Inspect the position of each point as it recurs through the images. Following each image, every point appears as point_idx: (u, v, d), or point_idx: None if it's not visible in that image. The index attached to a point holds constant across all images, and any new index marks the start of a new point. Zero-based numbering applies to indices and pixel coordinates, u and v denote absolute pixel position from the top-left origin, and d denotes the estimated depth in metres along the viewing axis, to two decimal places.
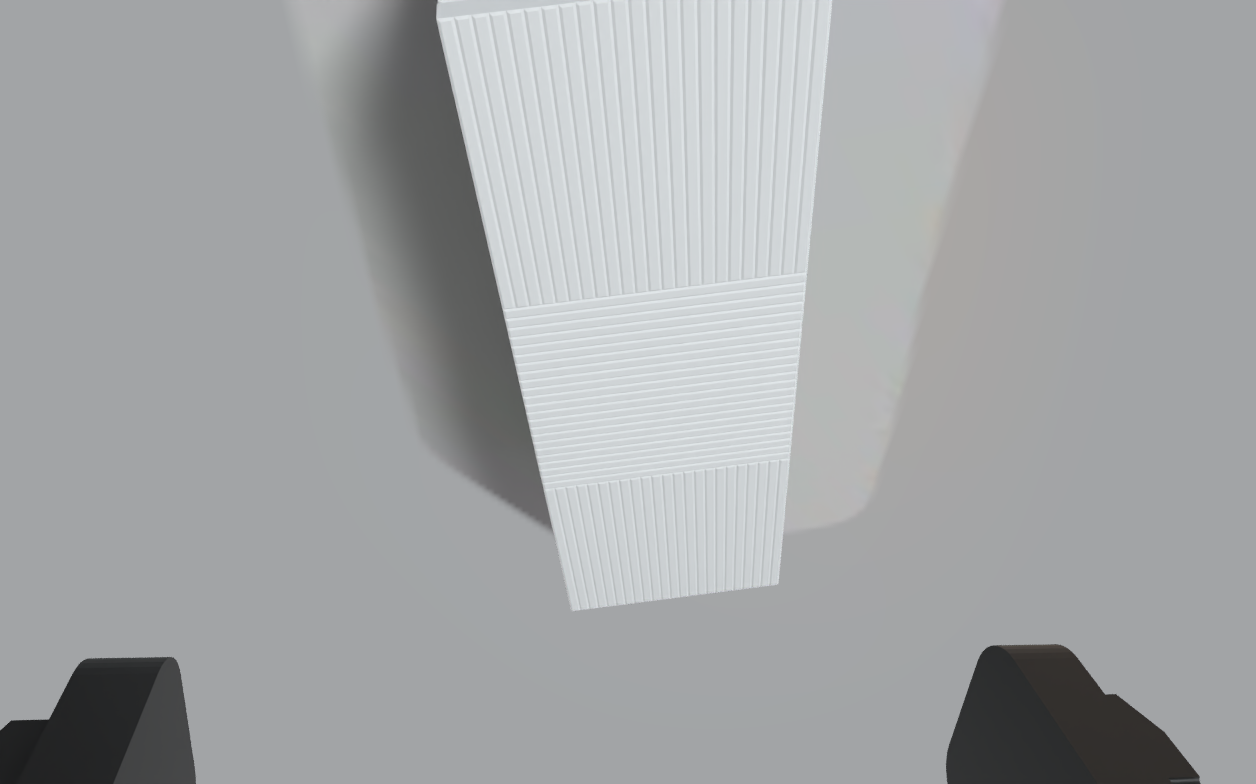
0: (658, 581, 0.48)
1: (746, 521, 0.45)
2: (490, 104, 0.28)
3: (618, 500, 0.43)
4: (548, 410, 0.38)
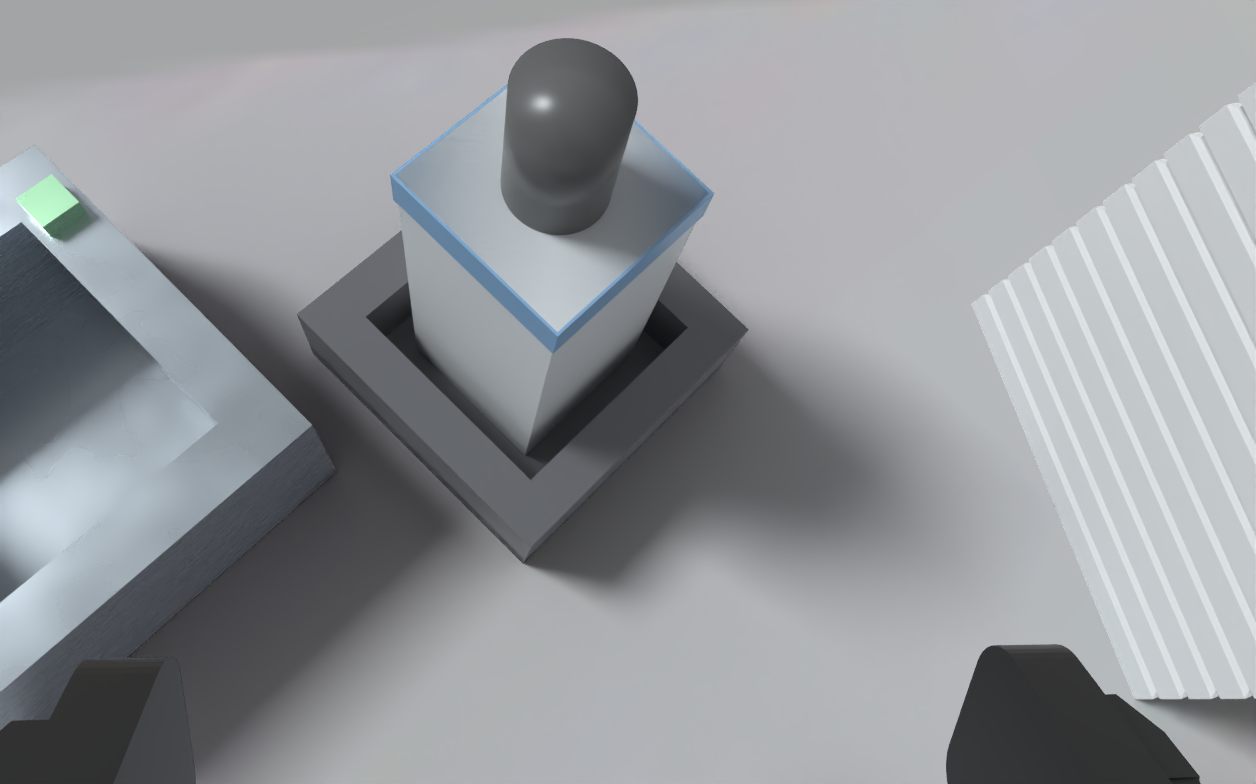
0: None
1: None
2: None
3: None
4: None
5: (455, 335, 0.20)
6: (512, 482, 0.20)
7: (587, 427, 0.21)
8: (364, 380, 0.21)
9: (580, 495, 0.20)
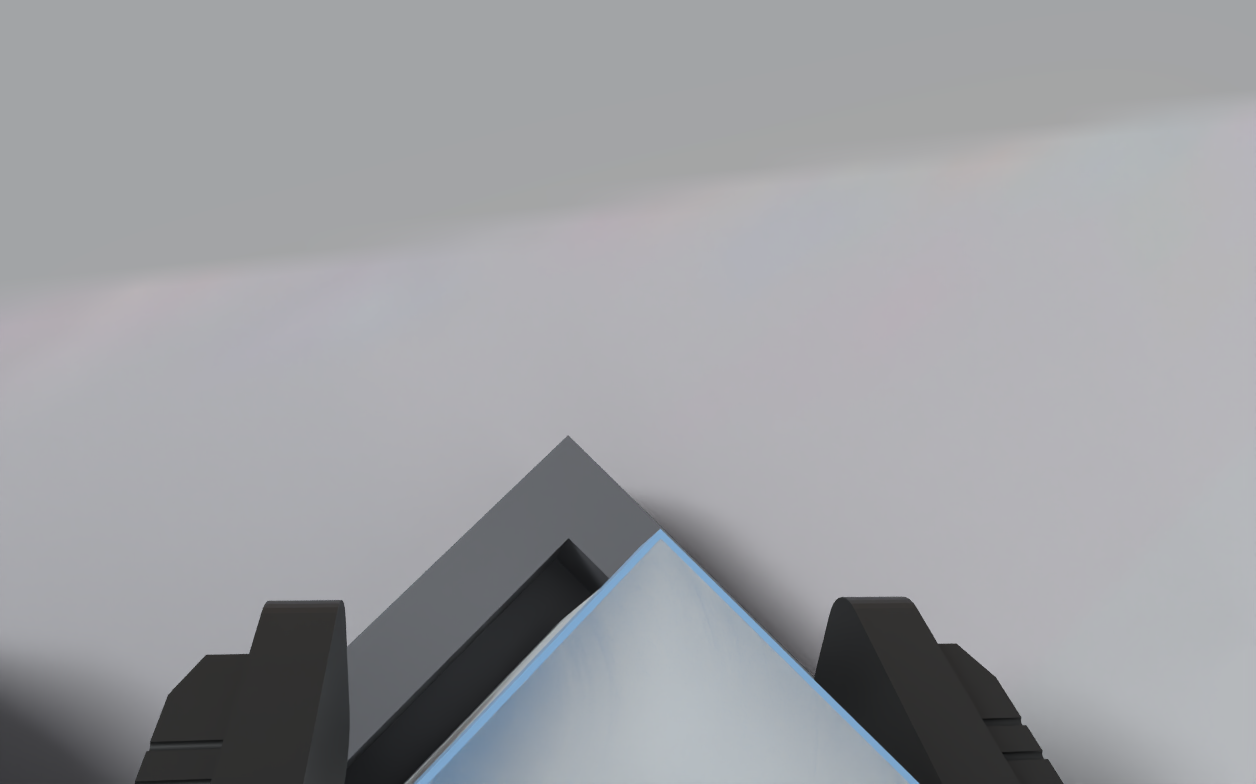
0: None
1: None
2: None
3: None
4: None
5: None
6: None
7: None
8: None
9: None
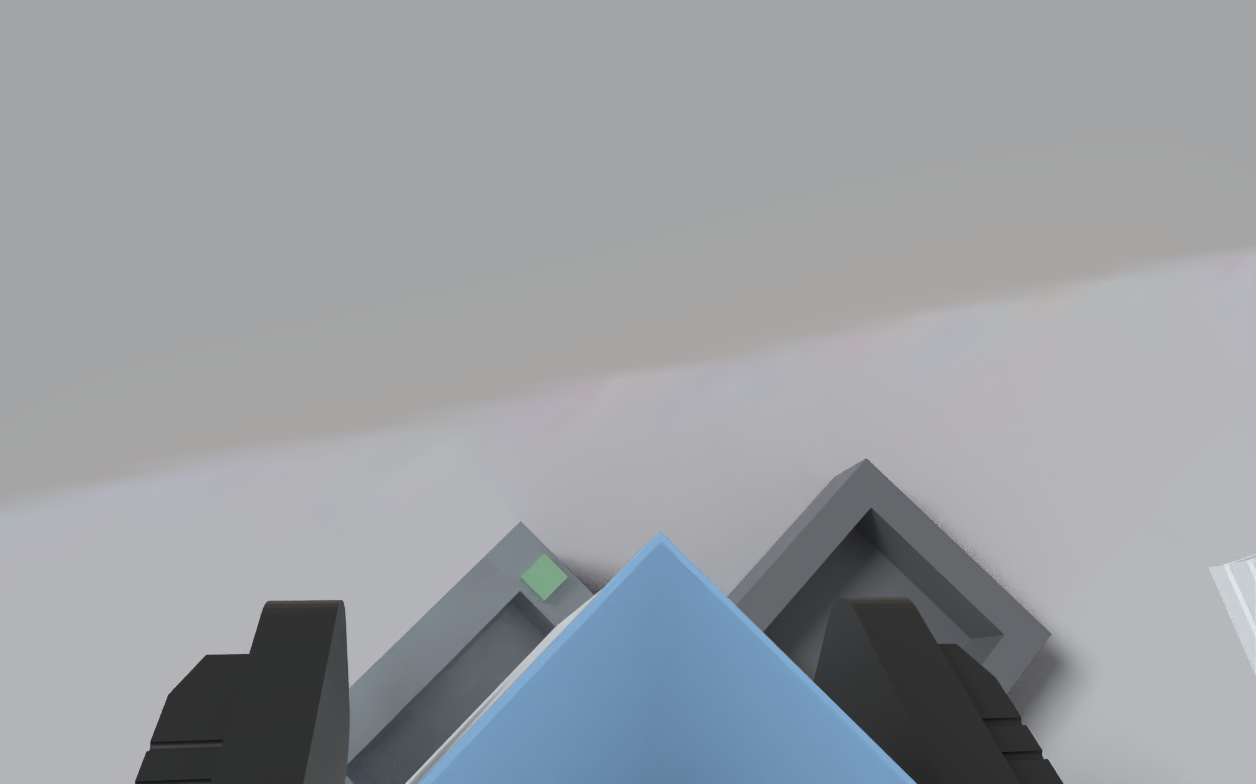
0: None
1: None
2: None
3: None
4: None
5: None
6: None
7: None
8: None
9: None
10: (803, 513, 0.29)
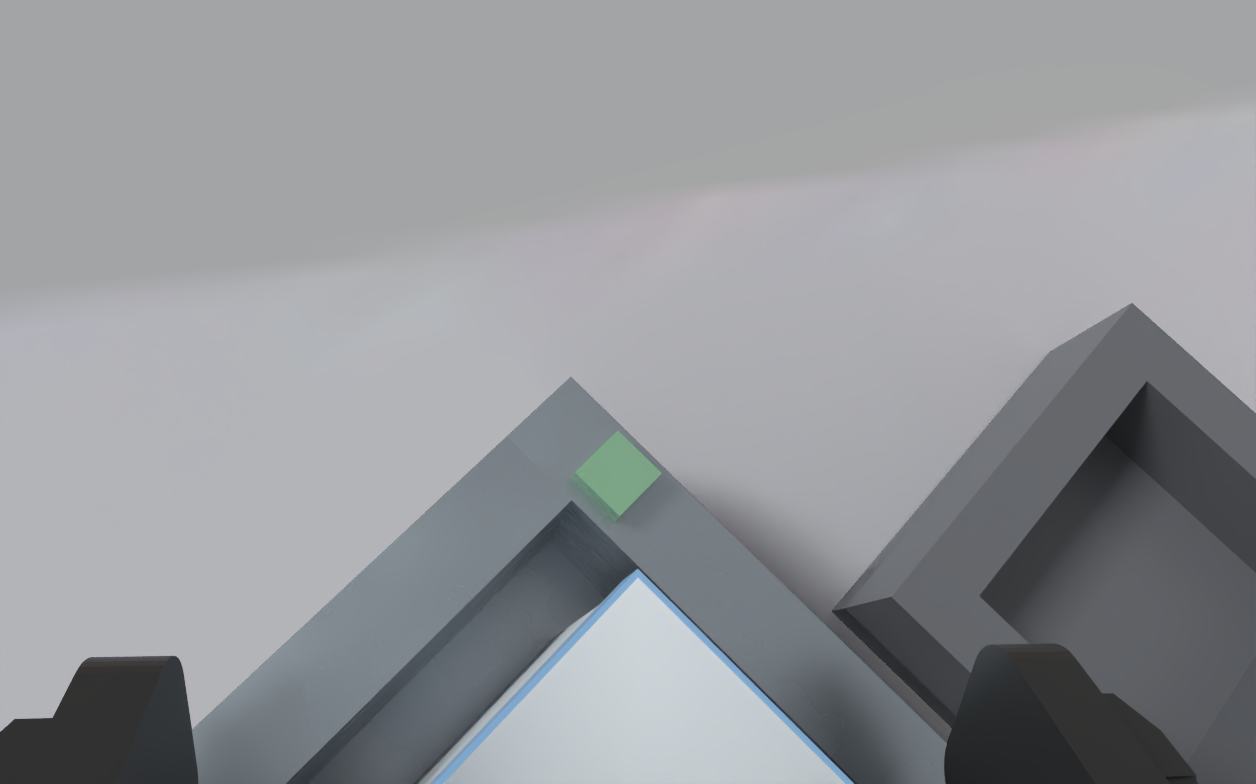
0: None
1: None
2: None
3: None
4: None
5: None
6: None
7: None
8: None
9: None
10: (1009, 404, 0.18)
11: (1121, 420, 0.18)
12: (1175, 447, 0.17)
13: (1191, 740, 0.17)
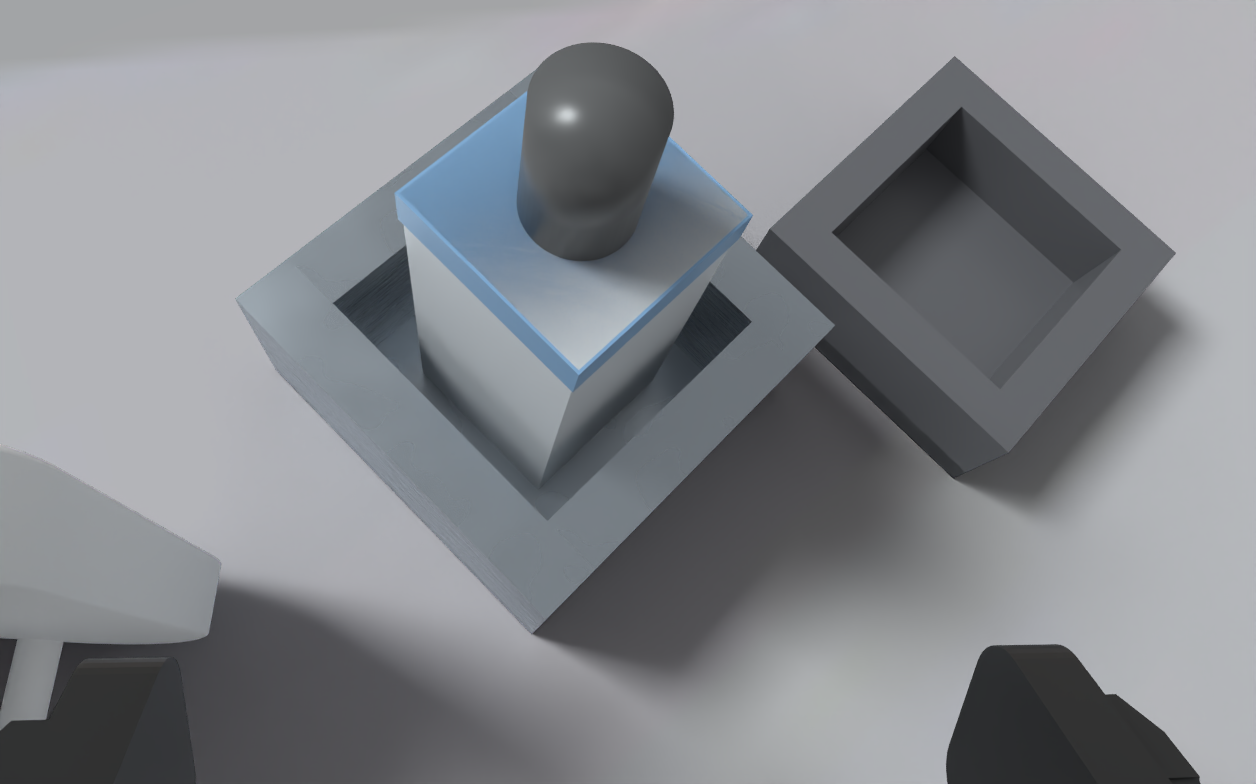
0: None
1: None
2: None
3: None
4: None
5: (464, 363, 0.18)
6: (984, 391, 0.21)
7: (1044, 341, 0.22)
8: (839, 292, 0.21)
9: (1047, 404, 0.21)
10: None
11: (952, 148, 0.24)
12: (986, 161, 0.24)
13: (993, 364, 0.24)
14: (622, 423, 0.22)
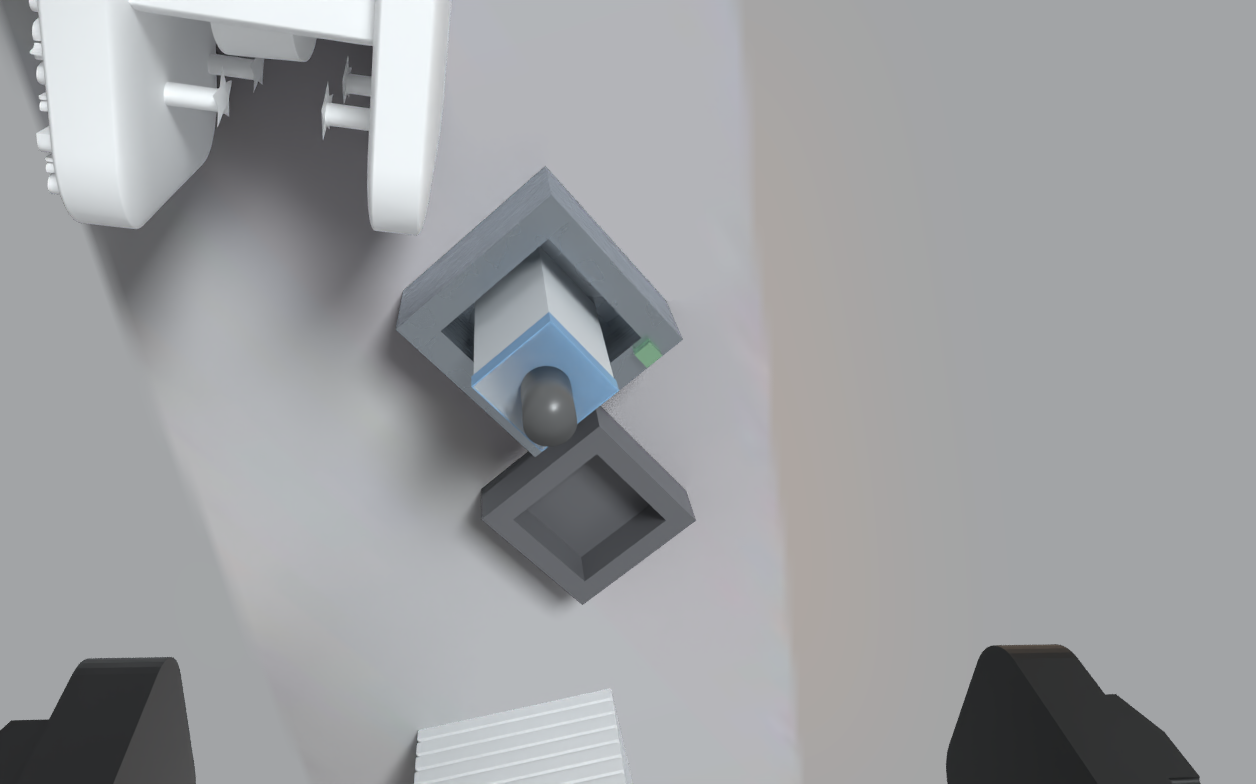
0: None
1: None
2: None
3: None
4: None
5: (517, 296, 0.38)
6: (512, 512, 0.44)
7: (537, 541, 0.45)
8: (564, 454, 0.43)
9: (504, 538, 0.45)
10: (665, 472, 0.47)
11: (654, 511, 0.47)
12: (641, 527, 0.46)
13: (537, 515, 0.47)
14: None
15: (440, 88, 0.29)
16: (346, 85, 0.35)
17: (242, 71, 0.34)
